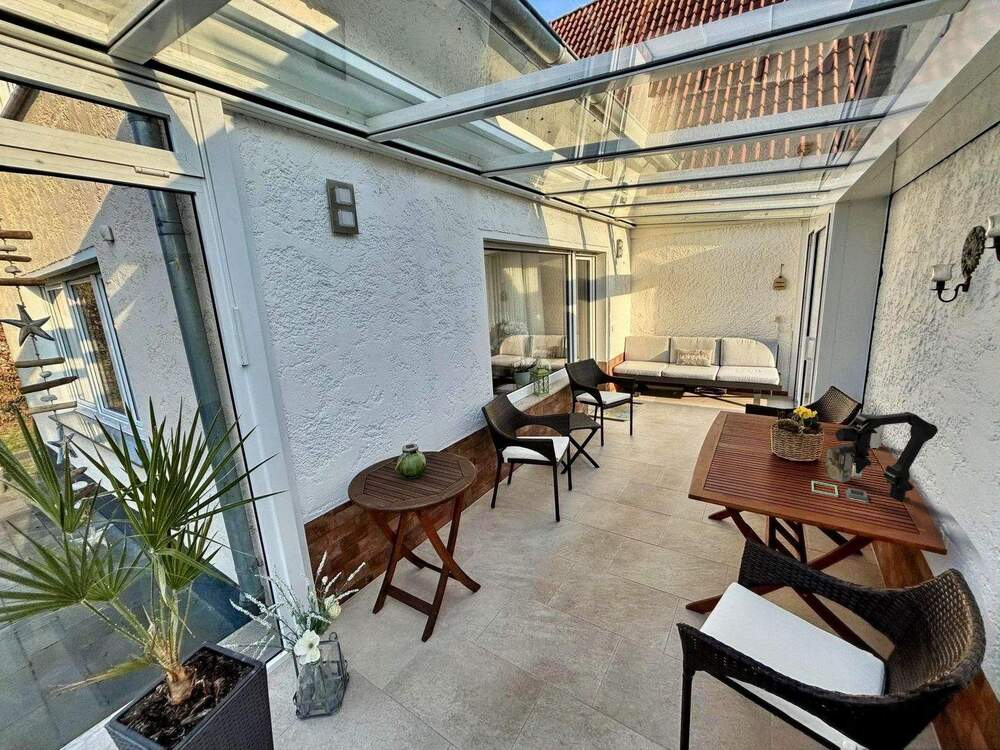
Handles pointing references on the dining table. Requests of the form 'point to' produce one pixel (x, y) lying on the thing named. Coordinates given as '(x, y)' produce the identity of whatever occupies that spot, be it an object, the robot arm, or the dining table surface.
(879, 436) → the supplement box
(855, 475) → the banded cream cylinder
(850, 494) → the socket block
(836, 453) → the coffee box
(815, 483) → the pale green rectangular frame
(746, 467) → the dining table surface
